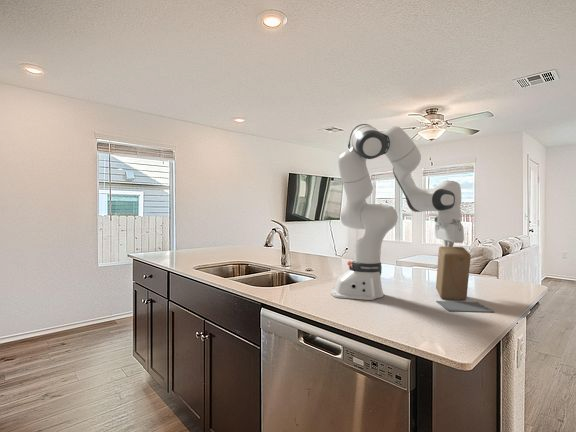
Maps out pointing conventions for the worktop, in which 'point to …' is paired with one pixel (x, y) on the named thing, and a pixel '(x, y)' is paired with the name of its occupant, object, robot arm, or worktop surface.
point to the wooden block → (453, 272)
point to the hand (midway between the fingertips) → (448, 251)
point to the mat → (464, 306)
